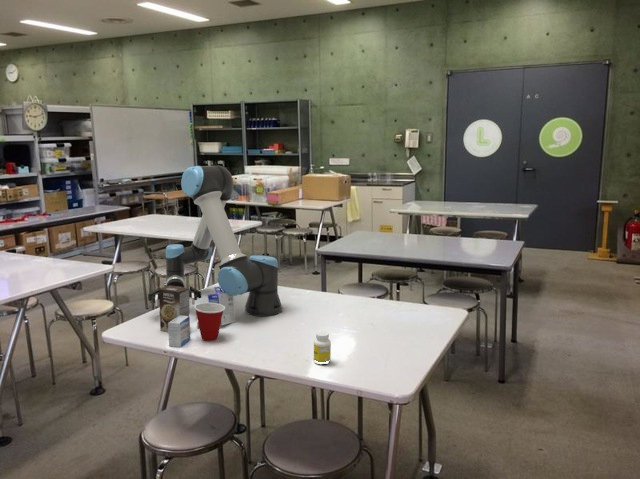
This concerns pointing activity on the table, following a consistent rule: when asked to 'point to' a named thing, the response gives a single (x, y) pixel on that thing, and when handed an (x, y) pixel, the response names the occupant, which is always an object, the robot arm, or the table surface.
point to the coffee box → (172, 304)
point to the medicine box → (179, 331)
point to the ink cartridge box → (225, 301)
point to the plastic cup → (209, 319)
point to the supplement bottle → (322, 347)
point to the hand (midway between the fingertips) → (174, 302)
